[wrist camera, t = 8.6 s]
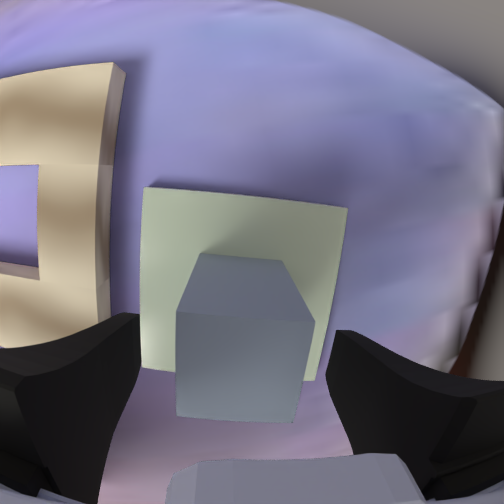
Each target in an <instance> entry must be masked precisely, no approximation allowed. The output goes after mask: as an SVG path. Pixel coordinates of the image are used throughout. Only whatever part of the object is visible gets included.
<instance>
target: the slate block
mask: <svg viewBox="0 0 504 504" xmlns="http://www.w3.org/2000/svg"><path fill="white" fill-rule="evenodd" d="M315 323H316V322H315V320H314V318H313V316H312V314H311V313H310V311H309V309H308V307H307V305H306V303H305V302H304V300H303V298H302V296H301V294H300V292H299V291H298V289H297V287H296V285H295V283H294V282H293V280H292V278H291V276H290V274H289V272H288V271H287V269H286V267H285V265H284V263H283V262H282V260H271V259H260V258H249V257H238V256H227V255H216V254H205V253H200V254H199V256H198V259H197V261H196V264H195V266H194V268H193V271H192V273H191V275H190V278H189V280H188V283H187V285H186V288H185V290H184V292H183V295H182V297H181V300H180V302H179V305H178V307H177V310H176V329H175V384H176V416H181V417H189V418H199V419H210V420H223V421H239V422H265V423H293V420H294V417H295V413H296V409H297V405H298V400H299V396H300V392H301V388H302V384H303V379H304V375H305V370H306V366H307V361H308V357H309V352H310V347H311V343H312V338H313V333H314V328H315Z"/></svg>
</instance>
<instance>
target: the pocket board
mask: <svg viewBox="0 0 504 504" xmlns="http://www.w3.org/2000/svg"><path fill="white" fill-rule="evenodd" d="M125 77H126V73H125V72H124V71H123V70H122V69H120V68H119V67H118V66H117V65H116V64H115V63H114V62H110V63H97V64H86V65H77V66H69V67H62V68H55V69H48V70H42V71H36V72H31V73H26V74H21V75H16V76H11V77H7V78H3V79H0V166H10V165H39V174H38V196H37V240H38V262H39V267H32V266H26V265H19V264H13V263H7V262H1V261H0V346H2V347H5V348H15V347H24V346H29V345H35V344H41V343H45V342H49V341H53V340H57V339H60V338H63V337H66V336H69V335H72V334H74V333H77V332H79V331H81V330H84V329H86V328H89V327H91V326H93V325H95V324H98V323H100V322H102V321H104V320H106V319H108V318H110V317H111V304H110V269H109V244H110V209H111V191H112V177H113V165H114V154H115V145H116V136H117V128H118V121H119V113H120V107H121V100H122V94H123V88H124V82H125Z"/></svg>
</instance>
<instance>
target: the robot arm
mask: <svg viewBox="0 0 504 504" xmlns="http://www.w3.org/2000/svg"><path fill="white" fill-rule="evenodd" d="M141 363H142V358H141V336H140V314H134V313H127V312H123V313H120V314H117V315H115V316H113V317H110V318H108V319H106V320H104V321H102V322H100V323H98V324H95V325H93V326H91V327H89V328H86V329H84V330H81V331H79V332H77V333H74V334H72V335H69V336H66V337H63V338H60V339H57V340H53V341H49V342H45V343H41V344H35V345H29V346H24V347H15V348H0V504H97V503H98V496H99V491H100V485H101V480H102V475H103V471H104V467H105V462H106V458H107V454H108V451H109V447H110V443H111V440H112V436H113V433H114V431H115V428H116V425H117V423H118V421H119V419H120V416H121V414H122V412H123V410H124V408H125V405H126V403H127V401H128V399H129V397H130V394H131V392H132V390H133V388H134V386H135V383H136V380H137V377H138V374H139V370H140V366H141ZM325 376H326V381H327V385H328V389H329V393H330V396H331V399H332V401H333V404H334V406H335V408H336V411H337V413H338V415H339V418H340V420H341V422H342V424H343V427H344V429H345V431H346V434H347V436H348V438H349V441H350V444H351V447H352V450H353V454H354V455H349V456H339V457H328V458H314V459H293V460H246V459H227V460H215V461H201V462H198V463H196V464H194V465H191V466H189V467H187V468H185V469H183V470H180V471H178V472H176V473H174V474H173V477H172V479H171V481H170V483H169V486H168V488H167V493H166V500H165V504H504V381H489V380H478V379H471V378H465V377H460V376H456V375H452V374H448V373H444V372H441V371H437V370H434V369H431V368H429V367H426V366H423V365H421V364H418V363H416V362H413V361H411V360H409V359H407V358H405V357H403V356H400V355H398V354H396V353H395V352H393V351H391V350H389V349H387V348H385V347H383V346H381V345H380V344H378V343H376V342H374V341H372V340H371V339H369V338H367V337H365V336H363V335H361V334H359V333H357V332H354V331H352V330H336V334H335V338H334V342H333V346H332V351H331V355H330V359H329V363H328V367H327V370H326V374H325Z"/></svg>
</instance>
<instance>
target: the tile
mask: <svg viewBox="0 0 504 504" xmlns="http://www.w3.org/2000/svg"><path fill="white" fill-rule="evenodd" d="M347 213H348V208H345V207H340V206H333V205H326V204H318V203H311V202H303V201H295V200H287V199H278V198H270V197H261V196H251V195H242V194H232V193H221V192H210V191H199V190H187V189H174V188H160V187H144V190H143V204H142V221H141V244H140V333H141V356H142V368H149V369H156V370H163V371H171V372H175V329H176V310H177V307H178V305H179V302H180V300H181V297H182V295H183V292H184V290H185V288H186V285H187V283H188V280H189V278H190V275H191V273H192V271H193V268H194V266H195V264H196V261H197V259H198V256H199V254H200V253H205V254H216V255H227V256H238V257H249V258H260V259H271V260H282V262H283V263H284V265H285V267H286V269H287V271H288V272H289V274H290V276H291V278H292V280H293V282H294V283H295V285H296V287H297V289H298V291H299V292H300V294H301V296H302V298H303V300H304V302H305V303H306V305H307V307H308V309H309V311H310V313H311V314H312V316H313V318H314V320H315V322H316V323H315V328H314V333H313V338H312V343H311V347H310V352H309V357H308V361H307V366H306V370H305V375H304V379H303V381H314V380H315V376H316V372H317V368H318V364H319V360H320V356H321V351H322V347H323V343H324V338H325V334H326V329H327V325H328V320H329V315H330V310H331V305H332V300H333V295H334V290H335V285H336V280H337V274H338V269H339V263H340V257H341V251H342V245H343V239H344V233H345V226H346V220H347Z"/></svg>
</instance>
